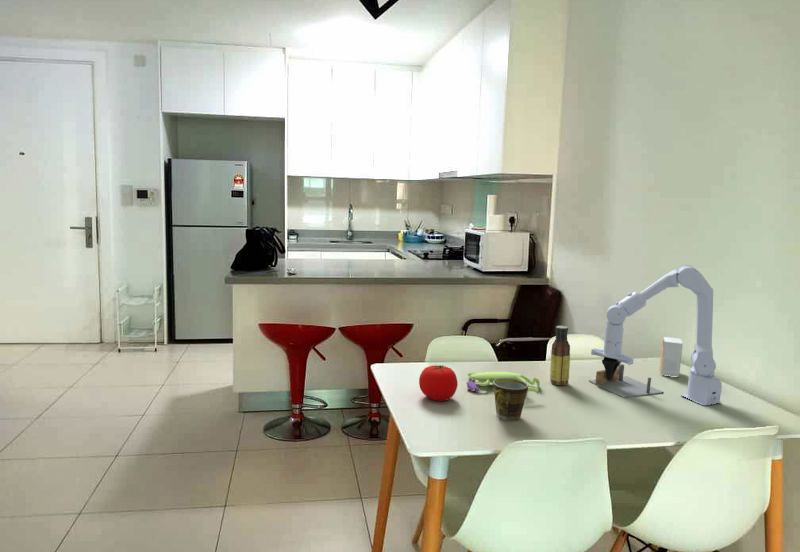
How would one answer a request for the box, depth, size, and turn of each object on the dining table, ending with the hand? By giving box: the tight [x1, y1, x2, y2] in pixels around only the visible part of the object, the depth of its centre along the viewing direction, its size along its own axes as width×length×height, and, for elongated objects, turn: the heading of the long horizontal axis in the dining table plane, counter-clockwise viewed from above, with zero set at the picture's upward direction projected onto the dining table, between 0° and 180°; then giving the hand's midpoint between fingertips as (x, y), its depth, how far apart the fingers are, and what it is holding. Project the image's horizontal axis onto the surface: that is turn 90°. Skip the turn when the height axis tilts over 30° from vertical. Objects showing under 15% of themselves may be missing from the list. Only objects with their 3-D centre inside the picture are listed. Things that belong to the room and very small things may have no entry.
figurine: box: [466, 371, 541, 393], centre depth 203 cm, size 18×27×6 cm
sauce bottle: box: [549, 325, 571, 386], centre depth 211 cm, size 6×6×20 cm
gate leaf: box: [594, 367, 620, 386], centre depth 213 cm, size 11×1×4 cm, turn 124°
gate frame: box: [588, 363, 663, 399], centre depth 211 cm, size 17×17×6 cm
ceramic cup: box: [492, 378, 529, 422], centre depth 178 cm, size 13×10×10 cm
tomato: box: [418, 364, 458, 402], centre depth 191 cm, size 12×12×10 cm
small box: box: [659, 336, 684, 377], centre depth 228 cm, size 8×6×13 cm
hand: (609, 379), depth 211 cm, fingers closed
